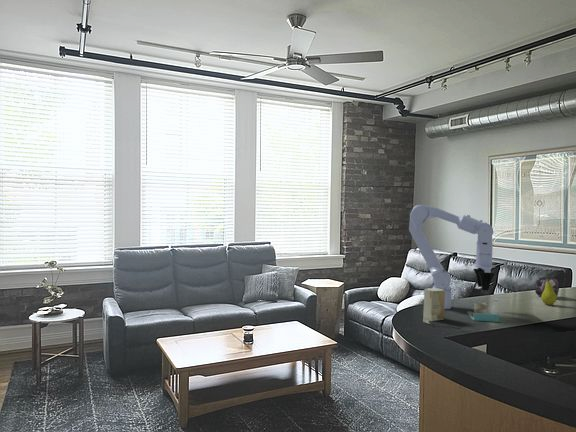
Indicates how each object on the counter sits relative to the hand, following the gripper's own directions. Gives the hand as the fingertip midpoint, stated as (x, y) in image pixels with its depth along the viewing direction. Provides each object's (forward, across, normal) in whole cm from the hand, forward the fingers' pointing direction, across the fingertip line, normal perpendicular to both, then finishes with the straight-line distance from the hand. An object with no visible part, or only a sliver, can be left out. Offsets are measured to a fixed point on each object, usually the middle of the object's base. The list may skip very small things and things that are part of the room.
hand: (483, 288), depth 181 cm
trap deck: (+10, -10, +2) cm, 14 cm away
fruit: (+10, +26, -32) cm, 43 cm away
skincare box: (+10, -18, +20) cm, 29 cm away
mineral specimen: (+10, +45, -37) cm, 60 cm away
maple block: (+9, -6, +2) cm, 11 cm away
